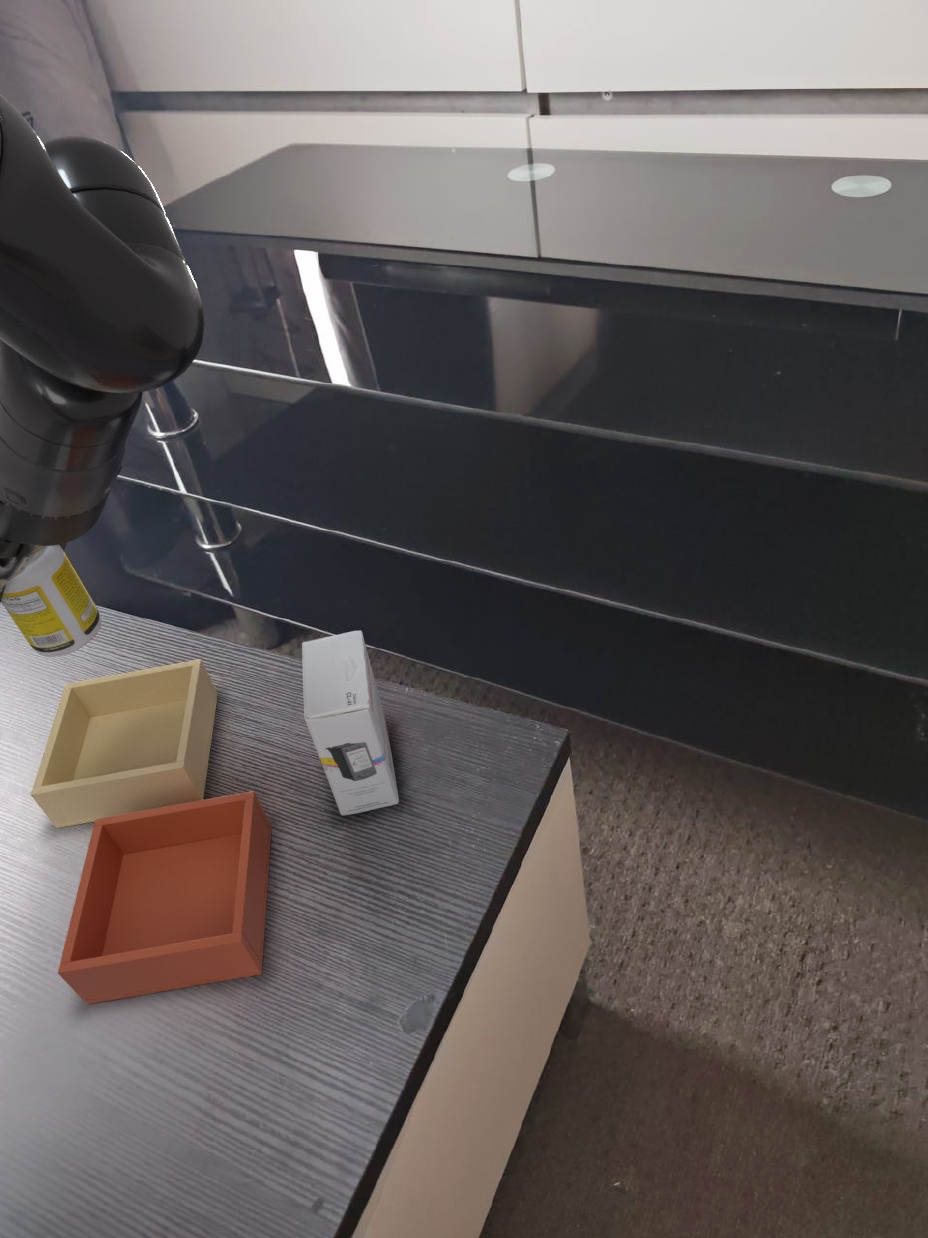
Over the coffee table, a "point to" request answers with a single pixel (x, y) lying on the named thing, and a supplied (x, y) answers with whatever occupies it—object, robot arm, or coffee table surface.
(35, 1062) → the coffee table surface
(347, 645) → the ink box
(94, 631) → the supplement bottle
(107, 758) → the cream bin
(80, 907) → the terracotta bin
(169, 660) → the coffee table surface
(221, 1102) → the coffee table surface
